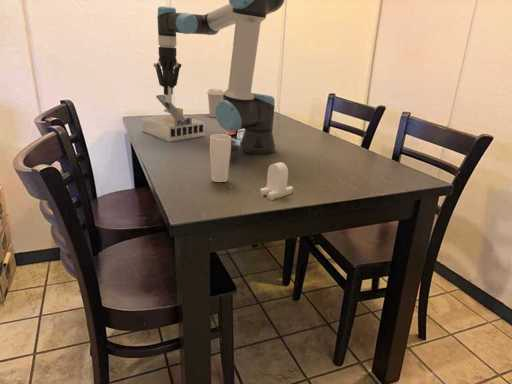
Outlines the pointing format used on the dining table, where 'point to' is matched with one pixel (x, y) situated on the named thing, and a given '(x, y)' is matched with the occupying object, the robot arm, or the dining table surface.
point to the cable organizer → (277, 180)
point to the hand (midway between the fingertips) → (168, 102)
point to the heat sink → (172, 128)
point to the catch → (177, 109)
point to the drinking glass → (220, 156)
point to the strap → (172, 110)
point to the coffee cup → (214, 100)
